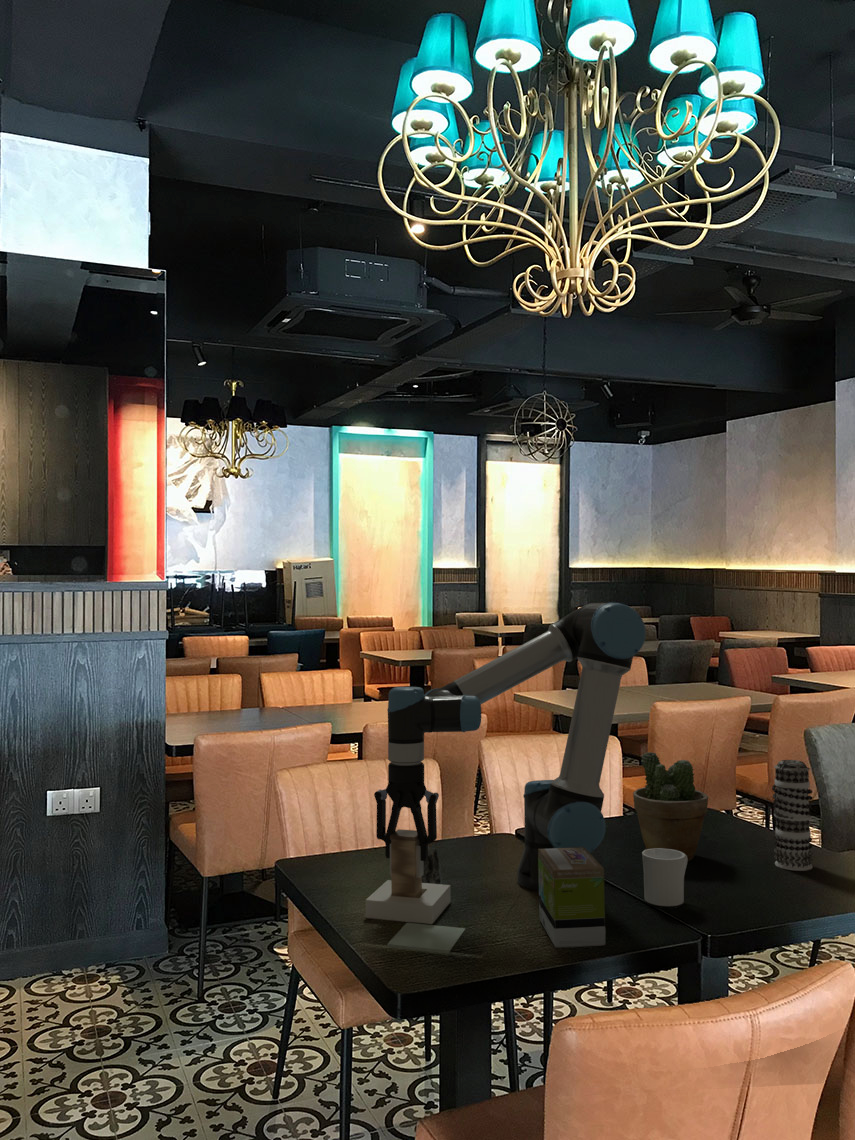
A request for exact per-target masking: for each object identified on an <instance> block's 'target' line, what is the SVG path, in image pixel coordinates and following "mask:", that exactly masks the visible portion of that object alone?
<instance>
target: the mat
mask: <svg viewBox="0 0 855 1140" xmlns="http://www.w3.org/2000/svg"><path fill="white" fill-rule="evenodd" d="M466 929H467V928H466V927H455V926H445V925H444V926H443V925H433V924H426V923H416V922H406V923H405V924H404V925H403V926H402V927H401V929H400V930H398V932H397V933H396V934H395V935H394V936H393V937H392V938H391V939H390V940H389V941H388V942H387V944H386V947H387V949H388V948H389V949H397V950H398V949H400V950H408V951H420V952H428V953H437V954H446V955H450V954H451V952H452V951H451V950H452V949H453V948H454V946H455V944H456V943H457V942H458V940H459V939H460V937H462V935H463V934H464V932H465V930H466Z"/></svg>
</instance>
